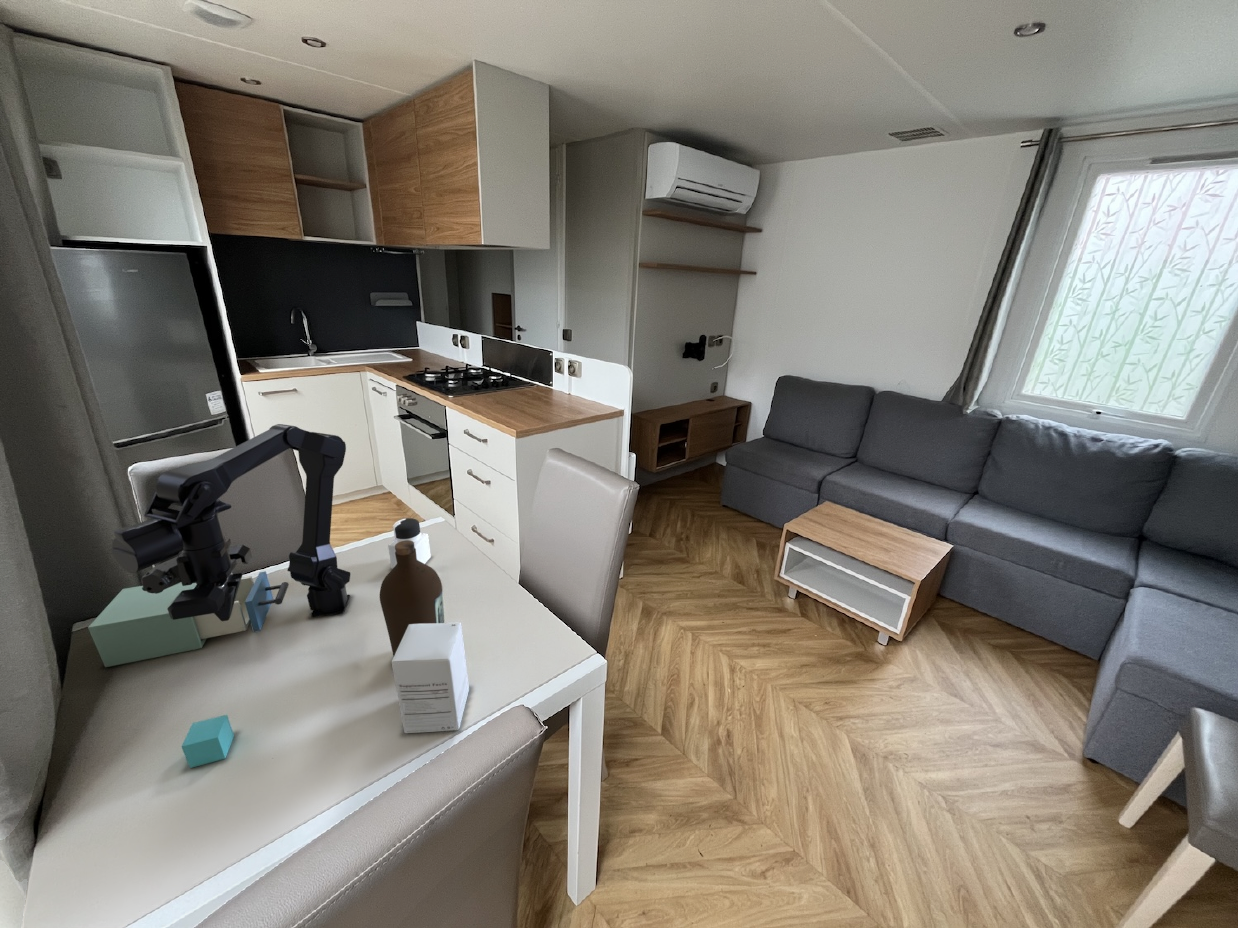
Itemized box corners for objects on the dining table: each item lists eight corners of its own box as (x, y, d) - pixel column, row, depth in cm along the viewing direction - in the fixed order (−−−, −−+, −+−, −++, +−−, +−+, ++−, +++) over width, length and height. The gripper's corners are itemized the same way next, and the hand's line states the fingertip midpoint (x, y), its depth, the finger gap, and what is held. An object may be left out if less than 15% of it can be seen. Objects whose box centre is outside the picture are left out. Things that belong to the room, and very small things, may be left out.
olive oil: (389, 683, 89) (368, 564, 81) (393, 645, 99) (374, 534, 90) (451, 669, 93) (436, 554, 84) (449, 633, 102) (435, 526, 93)
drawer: (295, 595, 112) (288, 567, 109) (284, 626, 102) (276, 596, 99) (199, 612, 106) (189, 583, 103) (177, 647, 96) (166, 616, 93)
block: (234, 735, 79) (227, 714, 77) (225, 758, 75) (217, 737, 73) (200, 743, 77) (192, 722, 76) (189, 768, 73) (181, 746, 72)
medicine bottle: (431, 557, 130) (426, 516, 126) (418, 572, 123) (412, 529, 119) (405, 555, 130) (399, 514, 126) (391, 569, 124) (384, 527, 120)
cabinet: (222, 610, 108) (211, 574, 104) (201, 648, 97) (188, 609, 94) (137, 625, 102) (122, 588, 99) (105, 667, 92) (87, 627, 88)
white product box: (418, 690, 88) (408, 622, 83) (470, 688, 89) (462, 620, 83) (402, 734, 79) (389, 661, 74) (459, 731, 80) (450, 658, 75)
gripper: (168, 524, 88) (192, 598, 93) (110, 580, 72) (142, 666, 77) (243, 516, 92) (261, 588, 97) (203, 567, 75) (228, 650, 81)
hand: (225, 619), depth 88 cm, fingers closed
